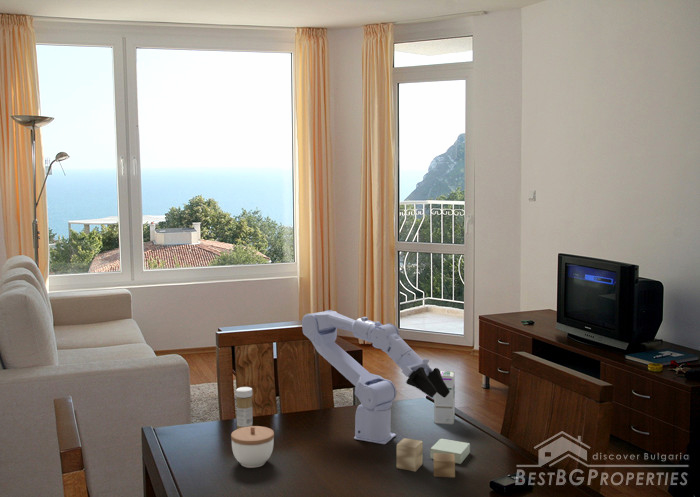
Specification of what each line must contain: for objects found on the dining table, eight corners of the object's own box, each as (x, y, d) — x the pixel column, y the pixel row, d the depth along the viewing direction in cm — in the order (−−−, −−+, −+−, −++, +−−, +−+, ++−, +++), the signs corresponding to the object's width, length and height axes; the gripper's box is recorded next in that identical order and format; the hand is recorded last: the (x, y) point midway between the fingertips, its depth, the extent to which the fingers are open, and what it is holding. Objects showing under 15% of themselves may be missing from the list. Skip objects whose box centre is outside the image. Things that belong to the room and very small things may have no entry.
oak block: (433, 476, 166) (434, 460, 165) (433, 468, 171) (433, 452, 170) (454, 477, 165) (455, 461, 165) (453, 469, 170) (454, 453, 170)
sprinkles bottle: (248, 431, 196) (247, 385, 195) (255, 436, 192) (255, 389, 191) (233, 434, 193) (233, 388, 192) (240, 439, 190) (240, 392, 188)
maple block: (396, 467, 171) (396, 444, 170) (403, 460, 175) (404, 437, 175) (415, 471, 169) (415, 447, 168) (422, 464, 173) (422, 441, 173)
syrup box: (453, 424, 202) (454, 376, 201) (433, 423, 203) (434, 375, 202) (454, 418, 208) (455, 371, 206) (435, 417, 209) (435, 370, 208)
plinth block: (430, 459, 177) (430, 448, 177) (440, 449, 184) (440, 438, 184) (460, 465, 173) (460, 453, 173) (469, 454, 181) (469, 443, 180)
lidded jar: (239, 474, 166) (238, 437, 166) (225, 459, 176) (225, 423, 175) (280, 466, 171) (280, 430, 170) (265, 452, 181) (265, 417, 180)
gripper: (402, 345, 175) (438, 382, 168) (427, 348, 187) (462, 383, 180) (385, 365, 177) (420, 403, 170) (411, 368, 189) (445, 403, 182)
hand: (440, 394), depth 175 cm, fingers open, 7 cm apart
